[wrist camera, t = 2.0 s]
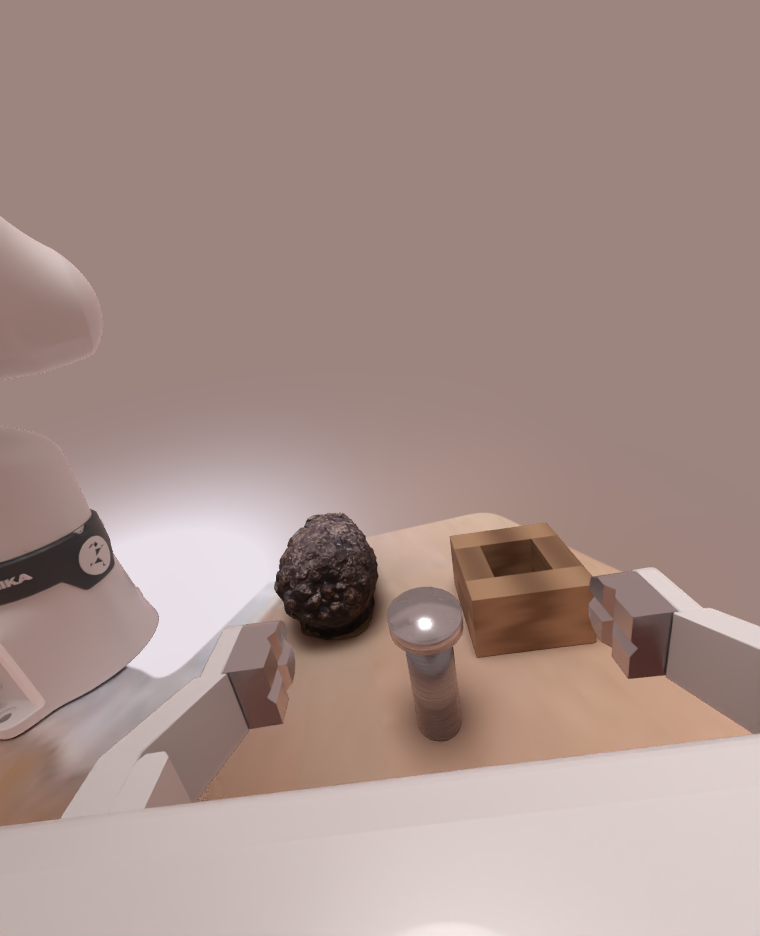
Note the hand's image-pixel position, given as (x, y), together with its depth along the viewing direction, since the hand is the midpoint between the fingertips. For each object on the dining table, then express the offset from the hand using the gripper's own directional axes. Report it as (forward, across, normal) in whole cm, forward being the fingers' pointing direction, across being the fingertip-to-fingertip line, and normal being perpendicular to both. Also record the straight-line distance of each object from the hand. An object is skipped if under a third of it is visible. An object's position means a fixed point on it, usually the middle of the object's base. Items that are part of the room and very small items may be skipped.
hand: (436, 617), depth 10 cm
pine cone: (+29, +10, +20) cm, 36 cm away
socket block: (+22, -9, +20) cm, 31 cm away
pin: (+12, 0, +20) cm, 24 cm away
